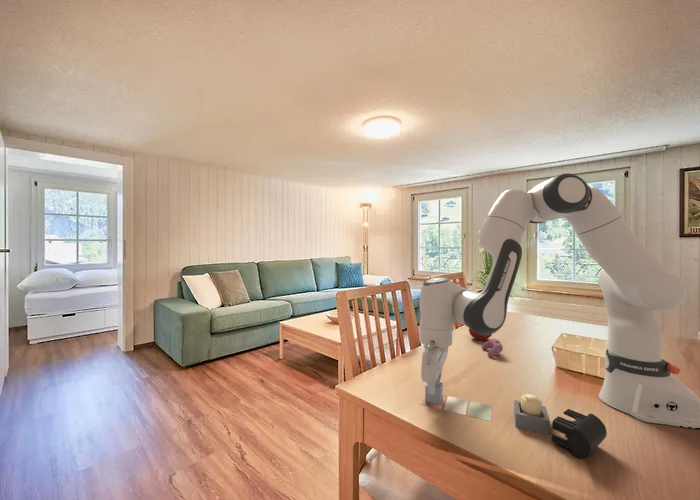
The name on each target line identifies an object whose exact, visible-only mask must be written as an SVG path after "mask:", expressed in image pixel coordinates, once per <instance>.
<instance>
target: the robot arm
mask: <svg viewBox="0 0 700 500" xmlns="http://www.w3.org/2000/svg"><path fill="white" fill-rule="evenodd" d="M561 217H562V218H563V219H565V220H566V221H568V222H569V223H570V225H571V227H572V229H573V231H574V232H575V234H576V236H577V237H578V239H579V241H580V242H581V244H582V245H583V247H584V249H585V251H586V252H587V254H588V255H589V257H590V258H591V259H592V260H593V261H595V262H596V263H597V265H599V266H600V267H601V268H602V269H603V270H602V271H600V274H599V275H598V277H597V278H598V279H597V282H598V283H597V284H598V287H599V288H600V289H601V293H602V296H603V301H604V307H605V310H606V316H607V317H606V318H607V323H608V324H607V325H608V334H607V348H606V349H605V355H604V368H605V374H604V378H603V379H604V380H603V382H602V383H603V384H602V386H601V389H600V391H599V393H598V398H599V399H600V400H601V401H602V402H603V403H604V404H606V405H608V406H610V407H612V408H614V409H616V410H619V411H621V412H623V413H626V414H628V415H631V416H632V417H633V418H636V419H638V420H640V421H642V422H646V423H653V424H659V425H660V424H661V425H665V424H666V425H667V426H674V427H680V426H683V427H682V428H688V427H692V428H691V429H695V428H700V397H698V395H697V394H696V393H695V392H694V391H692V390H691V389H690V388H689V387H687V386H686V385H685V384H684V383H682V382H681V381H680V380H679V379H677V378H676V377H674V376H673V375H679V374H681V372H682V371H681V369H680V368H679V367H678V366H677V365H675V364H672V363H670V362H668V361H667V360H665V359H663V357H662V356H663V339H664V333H663V330H662V327H661V325H660V324H659V322H658V320H657V318H656V315H655V311H658V312H659V311H671V310H674V309H676V308H678V307H680V306H681V304H683V302H684V301H685V300H686V297H687V294H688V293H687V287H686V284H685V282H684V281H683V280H682V279H681V278H680V277H679V276H677V275H676V274H674V273H672V272H671V271H670V270H668V269H667V268H666V267H665V266H664V265H663V264H662V263H661V262H660V261H659V260H658V259H657V258H656V257H655V256H654V255H653V254H652V253H651V252H650V251H649V250H648V249H646V247H645V246H643V244H642V243H641V242H640V241H639V239H638V238H637V237H636V236H635V234H634V233H633V231H632V229H631V228H630V227H629V225H628V223H627V221H626V220H625V219H624V217H623V216H622V214H621V213H620V211H619V210H618V209H617V207H616V205H615V204H614V203H613V202H612V201H611V200H610V199H609V198H608V197H607V196H606V195H605V194H604V193H603V192H602V191H601V190H600V189H598V188H595V187H591V186H590V185H588V184H587V182H586V180H584V179H583V178H582V177H580V176H579V175H576V174H574V173H569V172H568V173H561V174H558V175H554V176H552V177H550V178H549V179H547V180H544V181H542V182H540V183H538V184H537V185H535V186H534V187H533V188H532V189H530V190H528V191H527V192H526V191H524V190H522V189H518V188H516V189H513V188H512V189H511V188H510V189H507V190H505V191H503V192H502V193H501V194H500V195H499V197H497V199H496V200H495V201H494V203H493V205H492V206H491V207H490V209H489V211H488V213H487V214H486V216H485V218H484V221H483V223H482V224H481V226H480V229H479V232H478V241H479V244H480V245H481V247H482V248H483V249H484V250H485V251H486V252H487V253H488V254H489V255H491V258H492V266H491V268H490V271H489V273H488V277H487V280H486V283H485V286H484V288H483V289H482V291H480V292H477V291H474V290H470V289H468V288H466V287H462V286H461V285H459V284H457V283H454V282H453V281H451V279H450V278H448V277H440V276H439V277H432V278H429V279H426V281H424V282H423V283H422V286H421V288H420V296H419V311H420V321H419V335H418V336H419V338H418V339H419V343H420V344H421V345H423V348H424V350H423V352H422V357H421V371H420V372H421V373H420V378H421V380H422V382H424V383H426V384H427V385H428V393H429V394H435V391H436V386H435V383H436V381H437V379H438V377H439V379H440V380H441V378H442V375H443V374H442V371H443V367H444V364H445V362H446V360H447V358H448V353H449V352H448V351H449V347H451V346H452V345H453V325H454V323H459V324H461V325H464V326H466V327H467V328H468V329H469V328H470V329H472V330H473V331H475V332H476V333H478V334H480V335H490V334H492V335H493V334H495V333H496V332H498V331H499V330H501V328H502V327H503V326H504V324H505V322H506V319H507V312H508V311H507V310H508V302H509V301H510V300H509V299H510V296H511V292H512V289H513V286H514V283H515V280H516V277H517V274H518V272H519V268H520V265H521V261H522V255H523V249H522V245H521V244H522V239H523V238H524V237H523V236H524V234H525V232H526V230H527V229H528V225H529V223H530V224H543V223H545V222H549V221H553V220H557V219H559V218H561ZM672 374H673V375H672Z"/></svg>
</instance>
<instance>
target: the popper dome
mask: <svg viewBox="0 0 700 500" xmlns="http://www.w3.org/2000/svg"><path fill="white" fill-rule="evenodd" d="M520 401H521V413H525V414H529V415H534V416H538V417H541V415H542V406H543V401H542V399H541V398H539V397H538V396H536V395H535V394H532V393H526V394H522V395H521V397H520Z"/></svg>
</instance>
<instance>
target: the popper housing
mask: <svg viewBox="0 0 700 500" xmlns="http://www.w3.org/2000/svg"><path fill="white" fill-rule="evenodd" d="M513 402H514V403H513V416H514V424H515V427H517V428H521V429H526V430H528V431H533V432H538V433H542V434H545V435H550V434H551V433H550V432H551V430H550V429H551V420H550V417H549V412H548V409H547V406H545V405H542V415H541V417H538V416H534V415H529V414H525V413H521V400H516V399H514V401H513Z"/></svg>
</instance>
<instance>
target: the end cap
mask: <svg viewBox="0 0 700 500" xmlns="http://www.w3.org/2000/svg"><path fill="white" fill-rule="evenodd" d="M563 415H565V416H567V417H569V418H572V419H574V420H569V419H566V418H564V417H562V416H559V415H557V417H556V418H553V420H552V423H551V429H552V430H555V431H557V432H559V433H561V434H563V435H565V436H566V438H565V437H562V436H560V435H556V434H555V433H551V442H553V443H555V444H557V445H559V446H562V447H563V448H565V449H567V450H569V451H571V456H572V457H574V458H576V459H580V460H581V459H586V458H588V457H589V456H590V455H591V454H592V453H593V452H594V451H595V450H596V449H597V448H598V447H599V445H601V443H602V442H603V441H604V440H605V439H606V438H607V433H608V432H607V428H606V425H605V424H604V422H603V421H602V420H601V419H600V418H599V417H598V416H596V415H595V414H593V413H589V414H587V415H585V414H583V413H580V412H577V411H575V410H572V409H570V408H568V409H566V410H565V411H563Z"/></svg>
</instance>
